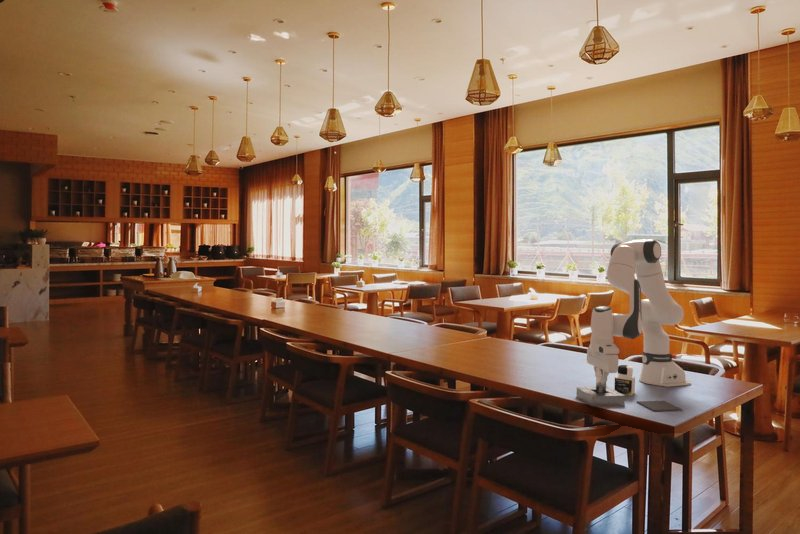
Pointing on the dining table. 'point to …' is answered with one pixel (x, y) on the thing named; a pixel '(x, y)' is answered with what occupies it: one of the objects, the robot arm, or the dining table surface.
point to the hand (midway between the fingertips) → (601, 378)
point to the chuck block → (600, 396)
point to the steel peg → (600, 381)
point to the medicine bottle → (625, 380)
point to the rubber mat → (658, 405)
